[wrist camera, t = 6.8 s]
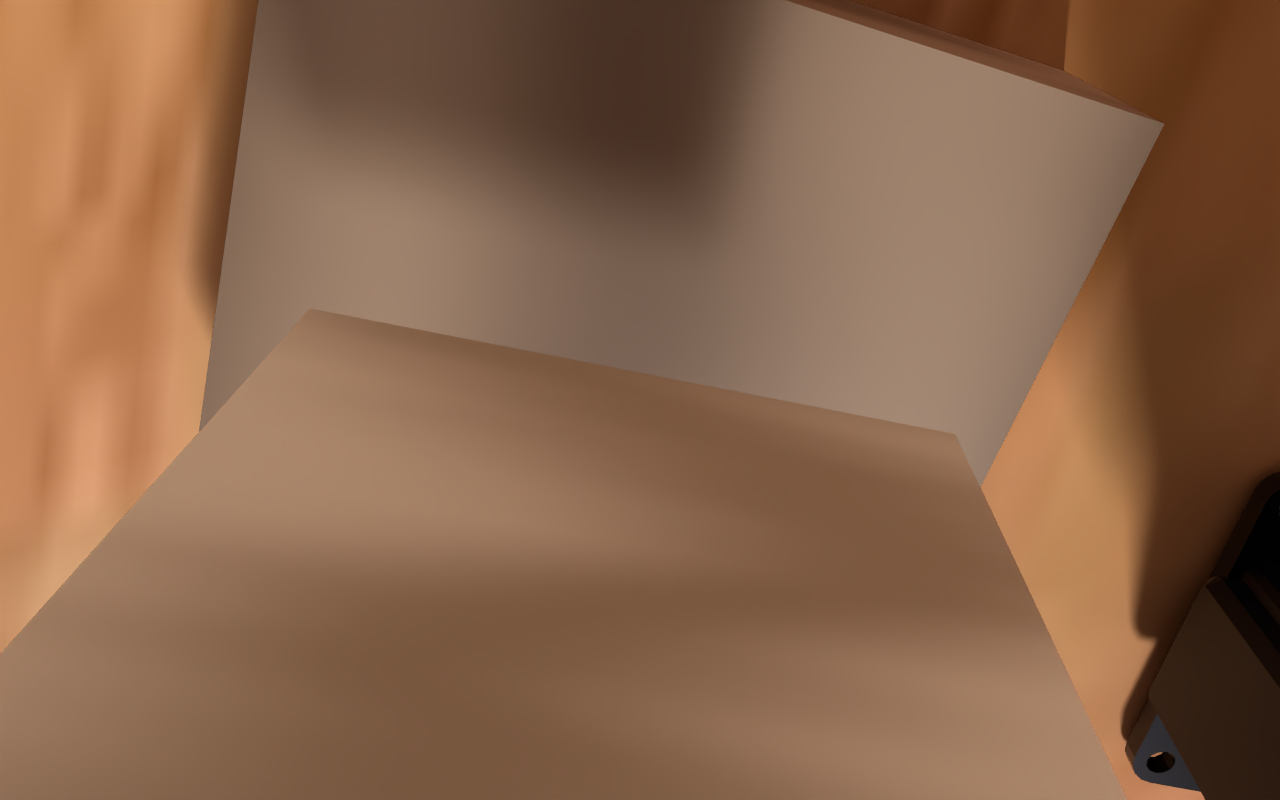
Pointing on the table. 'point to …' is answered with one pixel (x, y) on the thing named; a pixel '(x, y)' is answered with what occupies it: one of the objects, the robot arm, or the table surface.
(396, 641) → the maple cube
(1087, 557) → the table surface
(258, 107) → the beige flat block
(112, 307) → the table surface
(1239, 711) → the robot arm
